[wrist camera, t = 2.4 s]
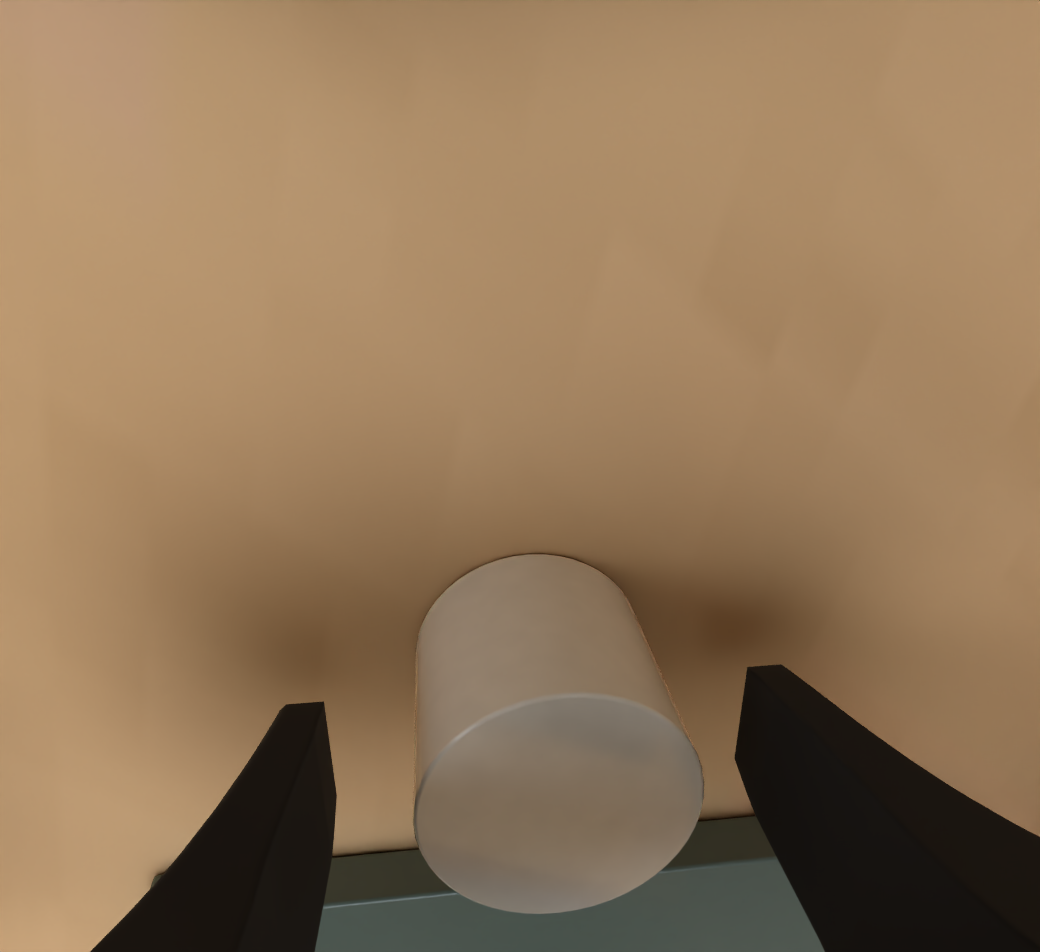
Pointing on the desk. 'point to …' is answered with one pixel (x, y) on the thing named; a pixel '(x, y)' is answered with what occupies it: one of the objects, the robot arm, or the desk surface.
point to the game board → (586, 932)
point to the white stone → (546, 741)
